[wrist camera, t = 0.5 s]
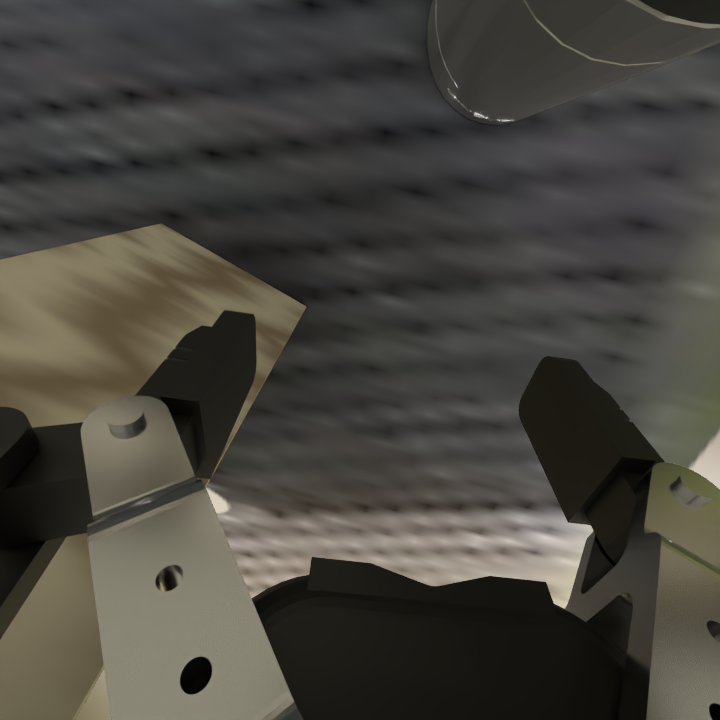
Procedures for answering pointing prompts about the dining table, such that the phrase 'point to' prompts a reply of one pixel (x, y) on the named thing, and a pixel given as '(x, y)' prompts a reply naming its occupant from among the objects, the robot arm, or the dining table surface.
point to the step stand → (93, 389)
